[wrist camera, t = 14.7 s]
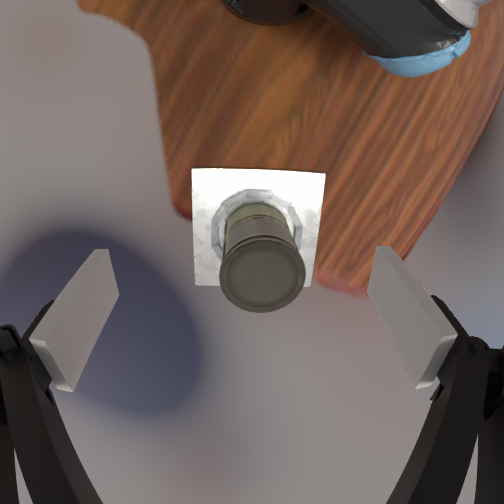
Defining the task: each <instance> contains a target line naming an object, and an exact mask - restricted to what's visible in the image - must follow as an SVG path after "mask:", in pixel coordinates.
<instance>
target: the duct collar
mask: <svg viewBox="0 0 504 504" xmlns="http://www.w3.org/2000/svg"><path fill="white" fill-rule="evenodd" d="M324 182H325V173H323V172H310V171H295V170H277V169H254V168H204V167H193V168H192V212H193V245H194V266H195V267H194V268H195V285H208V286H209V285H211V286H220V281H219V272H220V266H221V263H222V252H223V240H224V226H225V223H226V220H227V218H228V217H229V215H230V214H231V213H232V212H233V211H234V210H235V209H236V208H238V207H240V206H241V205H244V204H246V203H250V202H263V203H267V204H270V205H272V206H274V207H275V208H277V209H278V210H279V211H280V212H281V213H282V214H283V215H284V217H285V219H286V221H287V224H288V227H289V229H290V232H291V235H292V237H293V239H294V242H295V244H296V246H297V249H298V251H299V253H300V255H301V257H302V259H303V261H304V264H305V268H306V279H305V283H304V286H303V287H310V285H311V279H312V272H313V266H314V259H315V252H316V245H317V238H318V231H319V223H320V216H321V208H322V200H323V191H324Z"/></svg>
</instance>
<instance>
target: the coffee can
mask: <svg viewBox="0 0 504 504" xmlns="http://www.w3.org/2000/svg"><path fill="white" fill-rule="evenodd" d="M305 279H306V268H305V264H304V261H303V259H302V257H301V255H300V253H299V251H298V249H297V246H296V244H295V242H294V239H293V237H292V235H291V232H290V229H289V227H288V224H287V221H286V219H285V217H284V215H283V214H282V213H281V212H280V211H279V210H278V209H277V208H275V207H274V206H272V205H270V204H267V203H263V202H250V203H246V204H244V205H241V206H240V207H238V208H236V209H235V210H234V211H233V212H232V213H231V214H230V215H229V217H228V218H227V220H226V223H225V226H224V240H223V252H222V263H221V266H220V272H219V281H220V286H221V289H222V291H223V293H224V295H225V296H226V297H227V299H228V300H229V301H231V302H232V303H233V304H234V305H236V306H237V307H239V308H241V309H243V310H246V311H251V312H257V313H258V312H259V313H265V312H272V311H275V310H278V309H280V308H283V307H284V306H286V305H288V304H289V303H291V302H292V301H293V300H294V299H295V298H296V297H297V296H298V295H299V293H300V292H301V290H302V288H303V286H304V283H305Z"/></svg>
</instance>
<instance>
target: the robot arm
mask: <svg viewBox="0 0 504 504" xmlns="http://www.w3.org/2000/svg"><path fill="white" fill-rule="evenodd" d="M221 1H222V2H223V4H224V5H225V6H226V7H227V8H228V9H229V10H230V11H231V12H232V13H233V14H235V15H236V16H238V17H240V18H241V19H244V20H246V21H248V22H251V23H255V24H260V25H283V24H287V23H291V22H294V21H296V20H298V19H300V18H302V17H303V16H305V15H306V14H307V13H308V12H309V11H310V10H311V9H313V10H315V11H316V12H317V13H319V14H320V15H322V16H323V17H324V18H325V19H327V20H328V21H329V22H331V23H332V24H333V25H335V26H336V27H337V28H338V29H340V30H341V31H342V32H343V33H344V34H346V35H347V36H348V37H349V38H350V39H352V40H353V41H354V42H355V43H356V44H357V45H359V46H360V47H361V49H362V51H363V52H364V53H365V54H366V55H367V56H369V57H370V58H373V59H374V60H376V61H377V62H378V63H379V64H380V65H381V66H382V67H383V68H385V69H386V70H387V71H388V72H390V73H392V74H394V75H397V76H401V77H416V76H421V75H425V74H428V73H431V72H434V71H437V70H439V69H441V68H443V67H445V66H447V65H448V64H450V63H451V60H452V59H453V58H457V57H460V56H461V55H462V54H463V53H464V52H465V51H466V49H467V48H468V46H469V44H470V40H471V35H470V31H469V30H470V29H472V28H474V27H475V26H477V21H478V10H479V7H480V6H482V5H484V4H486V3H488V2H490V1H492V0H221ZM367 294H368V296H369V298H370V300H371V301H372V303H373V305H374V307H375V309H376V310H377V313H378V315H379V316H380V318H381V320H382V322H383V324H384V326H385V328H386V330H387V332H388V334H389V336H390V338H391V340H392V342H393V344H394V346H395V348H396V350H397V352H398V354H399V356H400V358H401V360H402V362H403V364H404V366H405V368H406V370H407V372H408V375H409V377H410V379H411V381H412V383H413V385H414V387H415V389H418V388H422V387H427V386H430V385H431V384H432V383H433V381H434V379H435V377H436V376H437V377H438V378H439V380H440V384H439V385H438V387H437V389H436V390H435V392H434V394H433V396H432V397H431V398H430V400H433V401H432V404H431V407H430V410H429V412H428V415H427V418H426V420H425V423H424V425H423V428H422V430H421V433H420V435H419V438H418V440H417V443H416V445H415V447H414V449H413V451H412V454H411V456H410V458H409V460H408V462H407V464H406V467H405V469H404V471H403V473H402V475H401V477H400V479H399V481H398V482H397V484H396V486H395V488H394V490H393V492H392V494H391V496H390V497H389V499H388V501H387V503H386V504H456V503H457V500H458V497H459V495H460V492H461V489H462V486H463V483H464V480H465V477H466V474H467V471H468V468H469V465H470V461H471V458H472V454H473V450H474V447H475V443H476V439H477V435H478V465H477V482H476V493H475V502H474V504H504V346H503V348H502V349H491V348H489V346H488V345H487V343H485V342H484V341H483V340H482V339H480V338H478V337H474V336H470V337H469V335H468V334H467V333H466V331H465V330H464V328H463V327H462V326H461V324H460V323H459V322H458V320H457V319H456V317H454V315H453V313H452V312H451V311H449V308H448V307H447V306H446V304H445V303H444V302H443V301H442V300H440V299H439V298H438V297H436V296H435V295H431V296H430V295H429V294H428V292H427V291H426V290H425V289H424V287H423V286H422V285H421V283H420V282H419V281H418V280H417V278H416V277H415V276H414V275H413V273H412V272H411V271H410V270H409V268H408V267H407V266H406V265H405V263H404V262H403V261H402V260H401V259H400V257H399V256H398V255H397V254H396V253H395V251H394V250H393V249H392V248H391V247H390V246H376V252H375V257H374V262H373V267H372V271H371V276H370V281H369V285H368V289H367ZM118 297H119V292H118V288H117V285H116V281H115V277H114V273H113V268H112V264H111V260H110V255H109V251H108V249H95V250H94V251H93V252H92V254H91V255H90V256H89V257H88V259H87V260H86V261H85V263H84V264H83V265H82V266H81V267H80V269H79V270H78V271H77V272H76V274H75V275H74V276H73V277H72V279H71V280H70V281H69V283H68V284H67V285H66V287H65V288H64V289H63V291H62V292H61V293H60V295H59V296H58V297H57V299H56V300H52V301H50V302H49V303H48V304H46V305H45V306H44V307H43V308H42V310H41V311H40V312H39V314H38V316H36V318H35V319H34V322H32V324H31V325H30V327H29V328H28V329H27V331H26V332H25V334H24V335H23V337H22V338H20V336H19V334H18V332H17V330H16V328H15V327H14V326H13V325H3V326H0V504H19V499H18V490H17V482H16V471H15V457H14V448H15V451H16V455H17V459H18V462H19V465H20V468H21V471H22V474H23V477H24V480H25V483H26V486H27V489H28V491H29V494H30V497H31V499H32V502H33V504H103V503H102V501H101V499H100V498H99V496H98V494H97V492H96V490H95V489H94V487H93V485H92V483H91V481H90V479H89V478H88V476H87V474H86V472H85V470H84V468H83V466H82V464H81V462H80V460H79V458H78V455H77V454H76V451H75V449H74V447H73V445H72V442H71V440H70V438H69V435H68V433H67V431H66V428H65V426H64V423H63V421H62V418H61V416H60V413H59V410H58V408H57V405H56V402H55V399H54V397H53V394H52V391H51V390H50V389H49V384H50V383H51V380H52V381H53V382H54V384H55V386H56V387H57V388H58V389H59V390H64V391H69V392H73V391H74V389H75V386H76V384H77V382H78V379H79V377H80V375H81V372H82V371H83V368H84V366H85V364H86V362H87V359H88V357H89V355H90V353H91V351H92V349H93V347H94V345H95V343H96V341H97V338H98V336H99V334H100V332H101V330H102V328H103V326H104V324H105V322H106V320H107V318H108V316H109V314H110V312H111V310H112V308H113V306H114V305H115V303H116V301H117V299H118Z"/></svg>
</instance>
